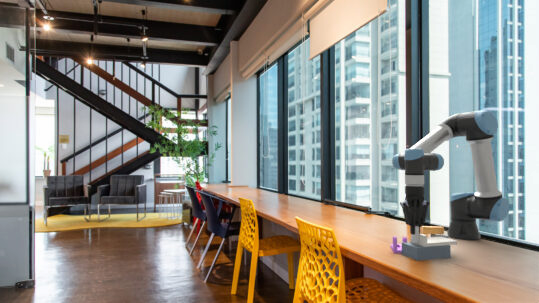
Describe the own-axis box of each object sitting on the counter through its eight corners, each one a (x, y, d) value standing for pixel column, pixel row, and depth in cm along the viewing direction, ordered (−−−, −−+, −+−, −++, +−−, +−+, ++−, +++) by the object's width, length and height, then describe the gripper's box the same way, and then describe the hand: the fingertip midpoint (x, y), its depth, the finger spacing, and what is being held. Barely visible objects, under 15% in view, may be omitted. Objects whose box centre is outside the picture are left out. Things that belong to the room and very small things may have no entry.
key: (421, 246, 161) (421, 226, 161) (447, 247, 159) (446, 226, 159) (423, 247, 158) (422, 227, 159) (449, 248, 157) (448, 227, 157)
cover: (441, 239, 155) (441, 229, 155) (457, 244, 146) (457, 233, 146) (410, 242, 151) (410, 231, 151) (424, 246, 142) (424, 236, 142)
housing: (433, 247, 163) (433, 236, 163) (462, 256, 146) (462, 244, 146) (392, 250, 157) (391, 238, 157) (417, 260, 141) (417, 248, 141)
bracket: (407, 254, 151) (407, 237, 151) (393, 253, 152) (393, 237, 153) (402, 246, 164) (402, 231, 164) (390, 246, 165) (389, 231, 165)
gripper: (421, 184, 152) (422, 239, 152) (395, 185, 149) (396, 240, 148) (434, 185, 145) (435, 242, 144) (406, 186, 142) (407, 245, 141)
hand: (415, 241), depth 146 cm, fingers closed
